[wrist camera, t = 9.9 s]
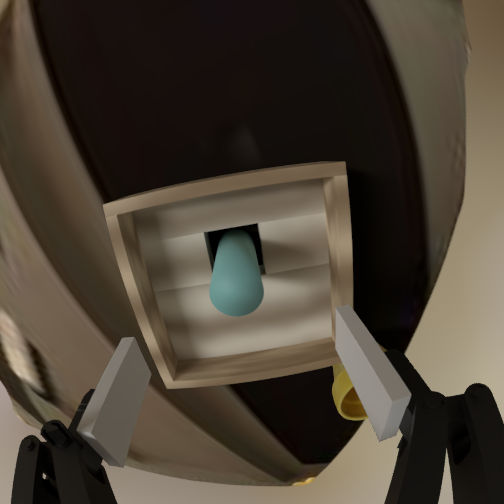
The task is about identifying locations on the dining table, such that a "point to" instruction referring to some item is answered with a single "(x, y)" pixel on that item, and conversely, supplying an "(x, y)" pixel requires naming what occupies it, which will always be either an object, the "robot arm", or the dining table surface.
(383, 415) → the robot arm
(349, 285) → the box
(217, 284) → the peg
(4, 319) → the dining table surface
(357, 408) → the plant pot
